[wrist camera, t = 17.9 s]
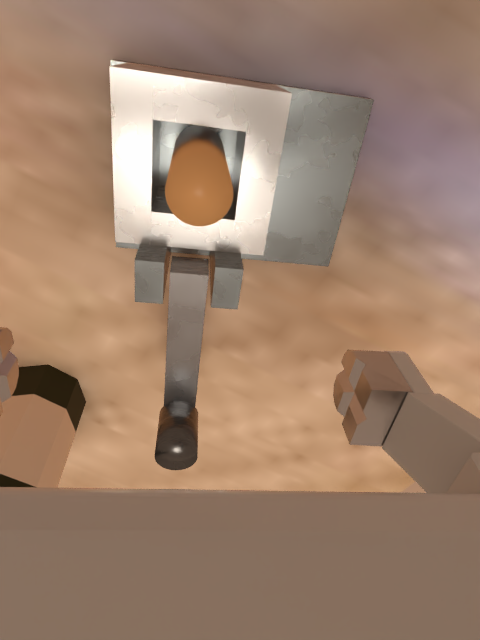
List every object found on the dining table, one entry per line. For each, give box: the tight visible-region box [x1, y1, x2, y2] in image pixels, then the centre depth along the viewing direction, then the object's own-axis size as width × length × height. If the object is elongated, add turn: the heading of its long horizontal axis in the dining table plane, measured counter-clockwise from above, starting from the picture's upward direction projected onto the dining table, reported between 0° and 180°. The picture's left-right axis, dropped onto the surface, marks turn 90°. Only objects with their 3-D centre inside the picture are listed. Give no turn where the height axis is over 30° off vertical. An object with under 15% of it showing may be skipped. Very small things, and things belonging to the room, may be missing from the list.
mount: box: [110, 60, 374, 309], centre depth 28 cm, size 18×13×10 cm
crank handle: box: [155, 256, 208, 470], centre depth 29 cm, size 3×14×6 cm, turn 173°
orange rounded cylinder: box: [165, 125, 233, 226], centre depth 26 cm, size 4×4×10 cm
